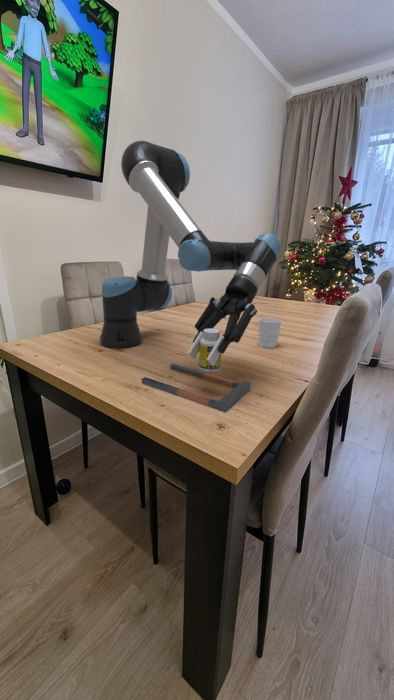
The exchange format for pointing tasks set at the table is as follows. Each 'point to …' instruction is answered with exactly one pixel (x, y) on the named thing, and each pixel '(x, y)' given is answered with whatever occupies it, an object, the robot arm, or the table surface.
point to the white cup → (268, 332)
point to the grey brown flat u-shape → (222, 404)
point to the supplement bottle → (208, 350)
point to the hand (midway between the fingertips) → (200, 359)
